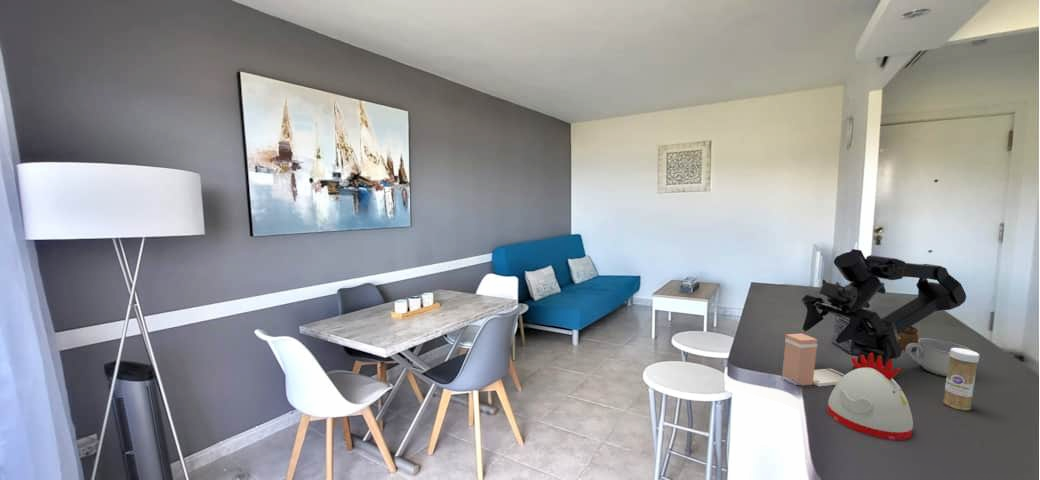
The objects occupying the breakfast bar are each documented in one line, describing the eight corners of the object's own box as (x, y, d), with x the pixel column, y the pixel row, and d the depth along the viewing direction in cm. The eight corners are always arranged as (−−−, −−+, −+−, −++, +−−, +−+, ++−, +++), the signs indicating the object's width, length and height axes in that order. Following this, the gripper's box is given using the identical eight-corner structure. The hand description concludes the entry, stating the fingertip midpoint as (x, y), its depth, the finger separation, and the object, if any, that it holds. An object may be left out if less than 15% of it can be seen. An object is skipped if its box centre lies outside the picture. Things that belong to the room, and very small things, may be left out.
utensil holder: (913, 347, 132) (918, 311, 131) (919, 353, 127) (924, 316, 126) (889, 343, 136) (894, 308, 134) (894, 348, 130) (898, 312, 129)
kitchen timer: (888, 446, 78) (898, 372, 77) (813, 411, 91) (820, 347, 89) (925, 431, 84) (935, 361, 82) (850, 400, 96) (857, 339, 95)
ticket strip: (830, 371, 112) (831, 368, 112) (856, 382, 105) (856, 379, 105) (794, 374, 110) (795, 371, 110) (818, 386, 103) (819, 383, 103)
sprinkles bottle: (942, 405, 94) (950, 350, 93) (942, 399, 97) (950, 345, 96) (971, 413, 91) (980, 356, 90) (971, 406, 94) (979, 351, 93)
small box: (874, 357, 123) (878, 323, 122) (849, 355, 124) (853, 322, 123) (853, 344, 133) (856, 314, 132) (830, 343, 135) (834, 312, 134)
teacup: (956, 368, 116) (960, 341, 115) (979, 384, 106) (983, 355, 105) (893, 359, 122) (896, 333, 121) (909, 373, 112) (913, 345, 111)
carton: (797, 376, 108) (801, 333, 107) (813, 384, 104) (817, 339, 103) (781, 378, 107) (785, 334, 106) (796, 386, 103) (801, 340, 102)
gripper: (810, 266, 114) (773, 305, 113) (881, 280, 96) (839, 327, 95) (830, 292, 117) (794, 331, 115) (903, 311, 98) (862, 357, 97)
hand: (819, 336), depth 106 cm, fingers open, 9 cm apart
